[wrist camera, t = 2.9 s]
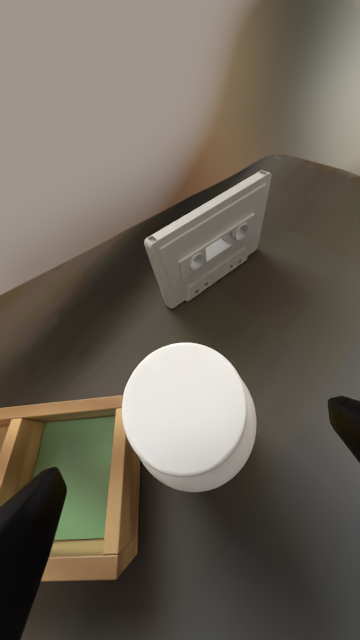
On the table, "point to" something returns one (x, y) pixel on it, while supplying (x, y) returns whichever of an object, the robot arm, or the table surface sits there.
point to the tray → (78, 481)
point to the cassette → (209, 240)
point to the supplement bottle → (189, 417)
